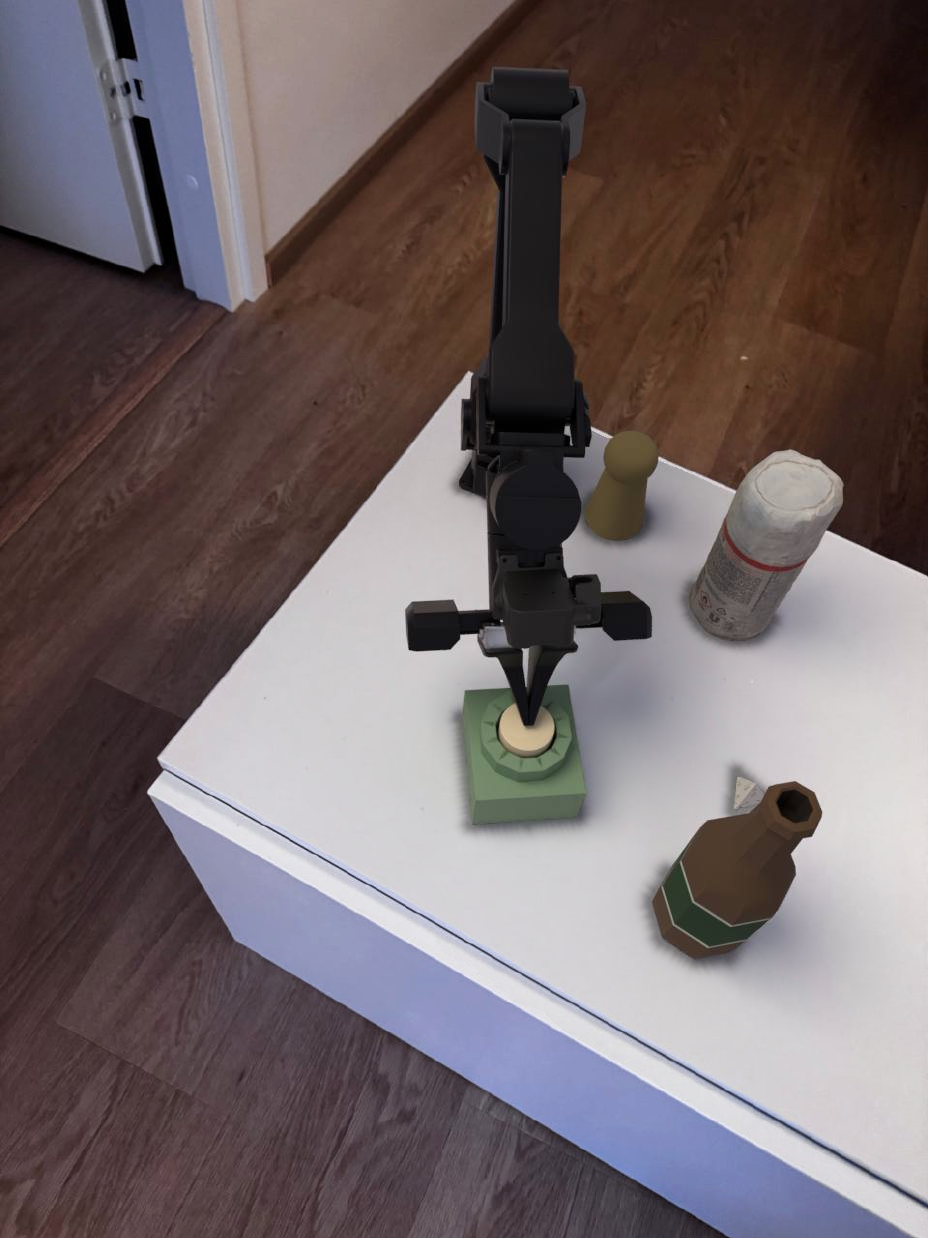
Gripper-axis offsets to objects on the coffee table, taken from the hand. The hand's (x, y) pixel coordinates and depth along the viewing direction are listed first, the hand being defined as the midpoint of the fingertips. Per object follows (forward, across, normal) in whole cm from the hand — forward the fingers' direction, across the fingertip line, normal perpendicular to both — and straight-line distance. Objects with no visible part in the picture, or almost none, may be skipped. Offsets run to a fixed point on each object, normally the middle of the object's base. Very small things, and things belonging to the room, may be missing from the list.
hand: (527, 724), depth 78 cm
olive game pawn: (-13, +13, +25) cm, 31 cm away
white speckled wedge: (+9, +20, +4) cm, 22 cm away
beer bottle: (+16, +13, -3) cm, 21 cm away
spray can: (-5, +23, +17) cm, 29 cm away
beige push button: (+2, 0, +2) cm, 2 cm away
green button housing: (+6, 0, +6) cm, 9 cm away
